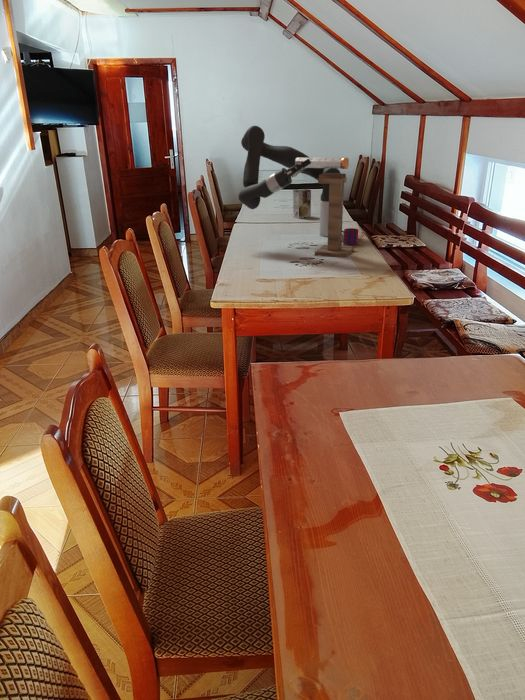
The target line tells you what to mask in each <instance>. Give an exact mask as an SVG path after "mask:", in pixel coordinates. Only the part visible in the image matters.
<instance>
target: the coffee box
mask: <svg viewBox="0 0 525 700" xmlns="http://www.w3.org/2000/svg"><path fill="white" fill-rule="evenodd" d="M292 193H293V195H292V198H293V199H292V202H293V203H292V204H293V205H292V207H293V209H292V211H293V213H292V215H293V218H295V217H296V218H295V219H304V217H306V218H311V217H312V213H311V212H312V208H311V207H312V190H311V189H309V188H301V189H294V190H292ZM310 216H311V217H310Z"/></svg>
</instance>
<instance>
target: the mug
mask: <svg viewBox="0 0 525 700" xmlns="http://www.w3.org/2000/svg"><path fill="white" fill-rule="evenodd" d="M342 234H343V239H342V243H343V245H344V244H345V245H344V246H357V245H358V243H359V229H358V228H353V227H351V228H349V227H348V228H344V230H342Z"/></svg>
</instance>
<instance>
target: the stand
mask: <svg viewBox="0 0 525 700" xmlns="http://www.w3.org/2000/svg"><path fill="white" fill-rule="evenodd" d="M345 183H347V174H346V173H341V174H339V173H322V174H319V178H318V180H317V184H322V185H323V184H329V216H328V236H327V245H325V244H324V245H322V246H321V247H319V248H318V249H316V250H314V256H318V255H321V257H335V258H345V257H346V258H347V257H348V256H350V254H351V253H352V252H353V251H354V246H342V243H343V242H342V241H343V239H342V238H343V232H342V231H343V217H344V216H343V215H344V214H343V213H344V190H345V189H344V188H345V185H344V184H345Z"/></svg>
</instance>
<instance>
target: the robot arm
mask: <svg viewBox="0 0 525 700" xmlns="http://www.w3.org/2000/svg"><path fill="white" fill-rule="evenodd" d="M265 135H266V134H265V132H264V130H263V128H261V127H260V126H259V125H251V126H250V127H248V129H247V130H246V131H245V133H244V135H243V137H242V138H241V142H240V144H241V146H242V148H243V149H244V150H245V151H247V156H246V161H245V163H244V169H243V177H242V185H243V187H244V188H243V189H241V190H240V192H239V194H238V200H239V202H240V203H242V204H243V205H244V206H245V207H247V208H248V209H251V210H255V209H257V208H258V207H259V206H260V203H261V198H264V199H265V198H269V197H270V196H271V195H274V194H275V193H277V192H279V191H281V190H283V189H285V188H286V187H288V186H289V185H291V184H292V181H293V180H292V178H295V177H297V176H298V175H299V174H304V175H307V176H310V177H312V179H315V180H317V181H318V178H319V174H322V173H339V174H342V173H341V171H340V169H339V168H304V167H306V166H308V165H309V164H311V161H310V159H307V160H305V161H304V162H302V163H299V164H297V165H295V160H296V158H311V157H309V156H308V155H307V154H305V153H303V152H302V151H300V150H298V149H296V148H294V147H292V146H288V145H271V144H268V143H266V142H265ZM261 157H262V158H265V159H268V160H270V161H272V162H275V163H277V164H279V165H282V166H284V167H282V168H280V169H278V170H277V171H275V172H274V173H272V174H270V175H269V176H268V177H266V178H265V179H263V180H262V181H261V182H259V179H260V178H259V177H260V176H259V175H260V163H261ZM286 168H287V169H286ZM328 216H329V184H322V192H321V194H320V211H319V236H321V237H328Z"/></svg>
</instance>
